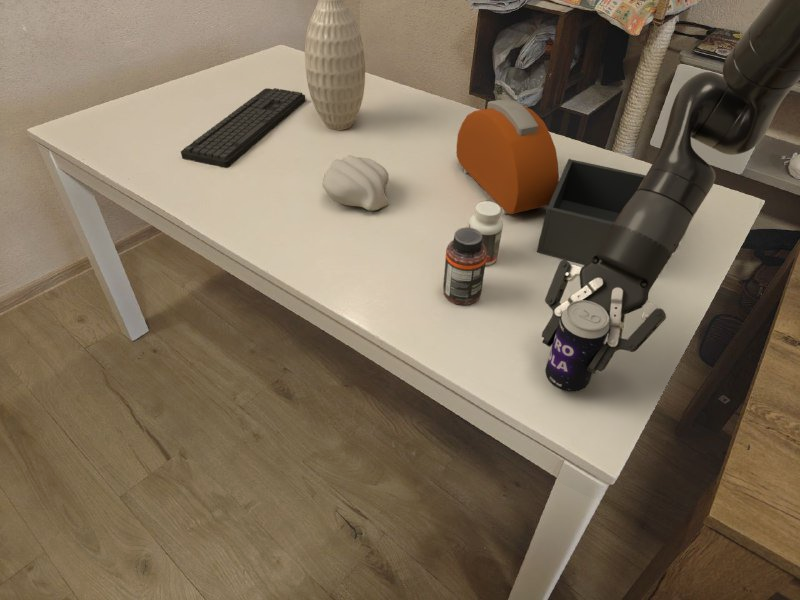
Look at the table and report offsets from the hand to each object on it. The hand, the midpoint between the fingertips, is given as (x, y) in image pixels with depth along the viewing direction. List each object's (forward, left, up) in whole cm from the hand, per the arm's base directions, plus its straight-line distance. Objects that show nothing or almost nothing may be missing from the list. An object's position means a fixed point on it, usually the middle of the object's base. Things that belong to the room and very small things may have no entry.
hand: (568, 357), depth 67 cm
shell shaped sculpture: (+45, -30, -7) cm, 54 cm away
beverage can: (-1, -2, -6) cm, 6 cm away
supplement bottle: (+18, -13, -7) cm, 23 cm away
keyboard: (+81, -46, -7) cm, 93 cm away
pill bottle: (+18, -23, -7) cm, 29 cm away
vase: (+63, -56, -7) cm, 84 cm away
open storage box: (+2, -37, -7) cm, 37 cm away
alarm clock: (+21, -45, -7) cm, 50 cm away
